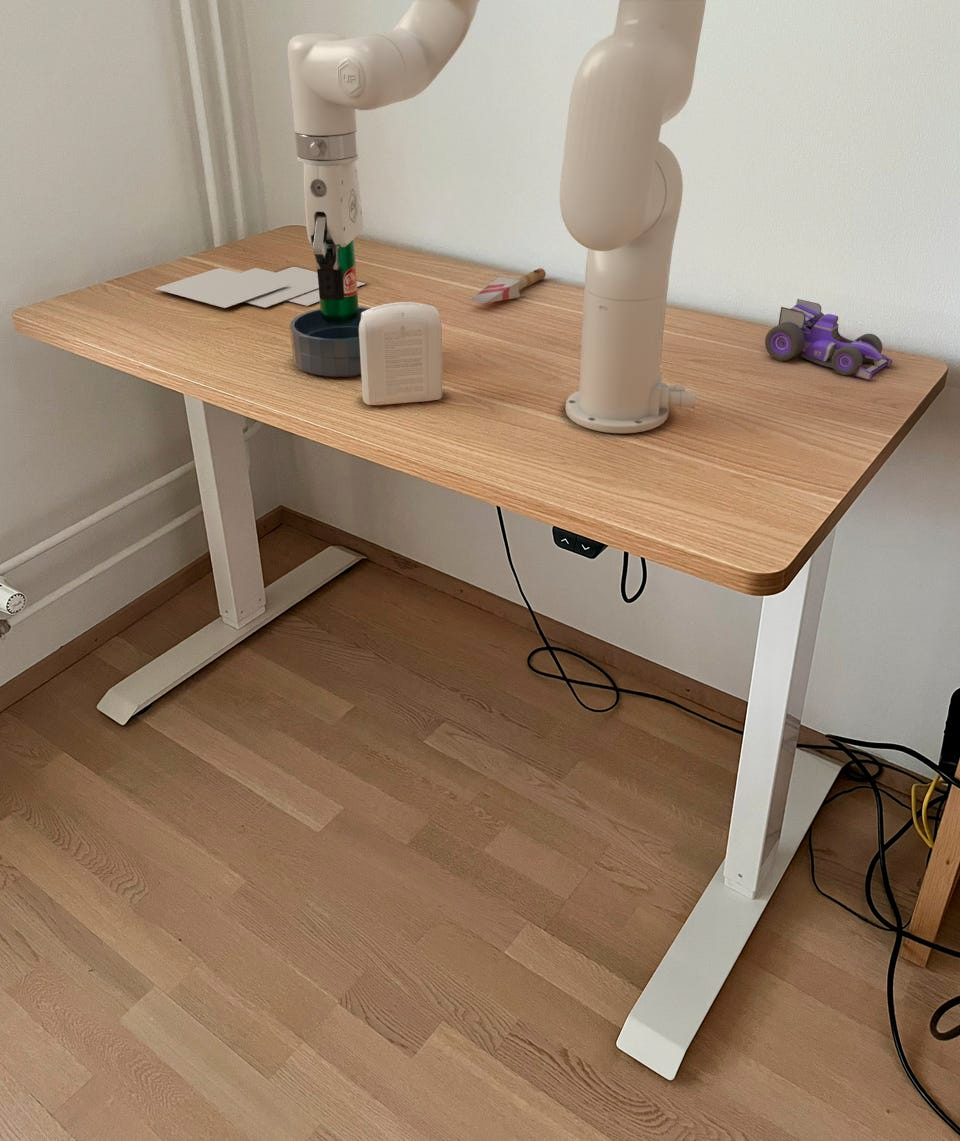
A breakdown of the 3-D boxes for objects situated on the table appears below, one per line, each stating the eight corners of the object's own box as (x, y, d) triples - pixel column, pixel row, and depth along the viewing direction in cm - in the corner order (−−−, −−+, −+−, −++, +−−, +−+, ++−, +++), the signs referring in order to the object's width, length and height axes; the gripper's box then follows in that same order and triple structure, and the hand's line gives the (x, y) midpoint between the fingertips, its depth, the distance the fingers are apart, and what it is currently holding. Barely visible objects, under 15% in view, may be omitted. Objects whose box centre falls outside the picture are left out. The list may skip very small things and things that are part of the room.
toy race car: (864, 384, 133) (875, 336, 129) (762, 356, 142) (769, 310, 138) (895, 364, 139) (906, 317, 135) (795, 338, 147) (802, 294, 144)
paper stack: (259, 258, 182) (259, 254, 181) (365, 283, 169) (365, 279, 169) (154, 292, 166) (154, 288, 166) (263, 322, 154) (262, 318, 153)
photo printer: (439, 388, 132) (437, 294, 126) (446, 401, 129) (444, 305, 122) (360, 396, 130) (354, 301, 124) (365, 409, 127) (358, 312, 120)
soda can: (352, 327, 135) (346, 234, 129) (316, 324, 136) (307, 232, 129) (363, 314, 139) (358, 224, 133) (328, 312, 140) (321, 222, 134)
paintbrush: (466, 289, 157) (532, 263, 171) (466, 307, 158) (531, 280, 173) (487, 293, 155) (552, 267, 170) (487, 311, 157) (551, 283, 171)
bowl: (402, 346, 146) (401, 308, 143) (380, 382, 134) (377, 342, 131) (311, 341, 147) (307, 303, 144) (281, 376, 136) (276, 337, 133)
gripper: (337, 162, 118) (348, 314, 128) (373, 134, 132) (381, 274, 142) (275, 160, 119) (291, 311, 129) (317, 133, 133) (329, 272, 143)
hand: (338, 290), depth 135 cm, fingers closed on soda can, 5 cm apart
